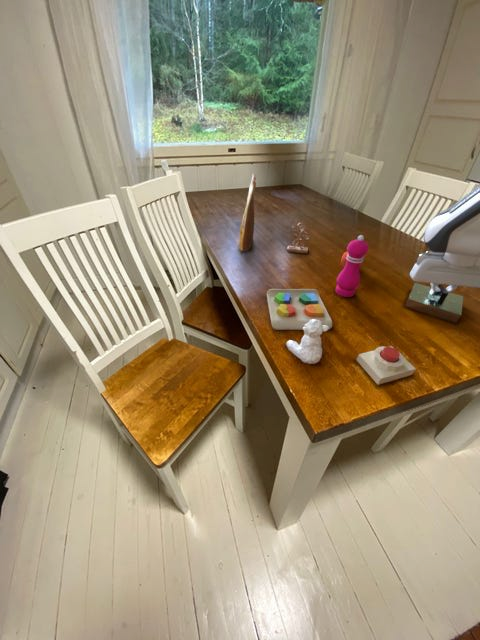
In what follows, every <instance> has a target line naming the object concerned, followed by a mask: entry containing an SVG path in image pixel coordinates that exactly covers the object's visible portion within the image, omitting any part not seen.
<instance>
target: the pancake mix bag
mask: <svg viewBox="0 0 480 640" xmlns="http://www.w3.org/2000/svg"><path fill="white" fill-rule="evenodd" d="M256 179H257V175H256V174H255V172H252V177H251V180H250V184H249V188H248V194H247V199H246V204H245V208H244V212H243V216H242V220H241V223H240V229H239V237H238V250H239V251H241V252H243V253H244V252H247V251H249V250H250V249H251V246H252V243H253V239H254V232H255V197H254V196H255V195H254V194H255V190H256V186H257V182H256Z"/></svg>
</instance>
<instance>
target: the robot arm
mask: <svg viewBox="0 0 480 640" xmlns="http://www.w3.org/2000/svg"><path fill="white" fill-rule="evenodd" d="M423 242H424V244H425V246H426V247H427V249H429V250H427V251H425V252H422V253H419V255H418V257H417V259H416V262H415V263H414V265H413V267H412V268H411V270H410V272H409V276H410V278H411V279H412V281H413V282H414V283H427V284H430V287H431V290H430V295H434V296H436V295H437V293H438V292H439V291H438V290H437V288H436V286H438V285H439V284H442V285H447V287H446V288H445V290H446V291H447V292H448V294H449V292H450V293H453V292H454V291H455V290H456V289H458V287H467V288H479V289H480V184H479V185H478V186H476V187H475V188H474V189H473V190H471V191H470V192H469V193H467V194H466V195H464V196H462V198H461V199H459V200H458V201H457V202H456V203H454V204H453V205H452V206H450V207H448V208H446V209H444V210H442V211H441V212H439V213H437V214H436V215H434V216H433V217H432V218H431V219H430V221H429V222H428V224H427V226H426V228H425V230H424V233H423ZM447 296H448V295H447Z"/></svg>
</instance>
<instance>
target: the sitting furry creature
mask: <svg viewBox="0 0 480 640" xmlns="http://www.w3.org/2000/svg"><path fill="white" fill-rule="evenodd" d="M328 328H329V327H328V326H327V325H322V322H321V321H319V320H316V319H312V320H310V321H309V322H308V323H307V324H305V326H304V327H303V330H302V331H303V333H304V334H303V335H302V337H301V339H300V343H298V342H297V341H294V340H291V339H289V340H287V342H286V343H285V345H286V347H287V349H288V351H290V352H291V353H292V354H293V355H294V356H296V357H297V358H298V359H300V361H301V362H303V363H304V364H309V365H315V364H317V363H318V362H320V360H321V359H322V355H323V348H322V337H321V335H322V334H323V332H328V331H329V330H328Z"/></svg>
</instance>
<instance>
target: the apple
mask: <svg viewBox="0 0 480 640" xmlns="http://www.w3.org/2000/svg"><path fill="white" fill-rule="evenodd" d="M347 254H348V251H347V250H346V251H345V252H344V253H343V254H342V255H341V259H340V263H341V266H342V268H344V267H345V265H346V263H347V259H346V257H347ZM364 261H365V258H364V259H363V262H361V264H360V267H359V269H360V268H362V266H363V264H364Z"/></svg>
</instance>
